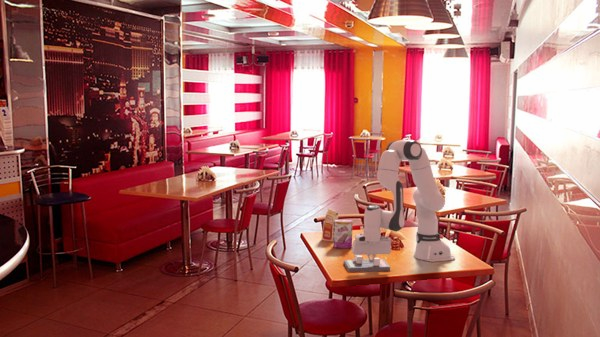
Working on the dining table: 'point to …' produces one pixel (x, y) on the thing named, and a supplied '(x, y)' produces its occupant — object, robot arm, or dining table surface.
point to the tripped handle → (376, 262)
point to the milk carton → (329, 225)
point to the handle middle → (359, 259)
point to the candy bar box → (343, 234)
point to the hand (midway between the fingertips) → (371, 262)
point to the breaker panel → (366, 266)
